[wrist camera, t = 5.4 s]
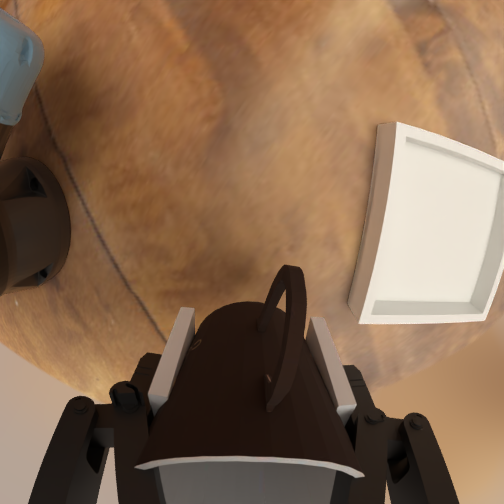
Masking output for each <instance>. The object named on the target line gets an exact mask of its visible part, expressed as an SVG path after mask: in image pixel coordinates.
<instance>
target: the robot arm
mask: <svg viewBox="0 0 504 504" xmlns="http://www.w3.org/2000/svg"><path fill="white" fill-rule="evenodd" d="M43 62H44V47H43V44H42V41H41V40H40V38H39V37H38V36H37V35H36V34H35V33H34V32H33V31H32V30H30V29H29V28H28V27H27V26H25V25H24V24H23V23H21V22H20V21H19V20H17V19H16V18H14V17H13V16H11V15H10V14H9V13H7V12H6V11H4V10H3V9H1V8H0V159H1V156H2V153H3V151H4V148H5V145H6V143H7V140H8V138H9V136H10V133H11V131H12V129H13V126H14V125H16V124H17V123H18V122H19V121H20V119H21V116H22V108H23V106H24V103H25V101H26V99H27V97H28V95H29V92H30V90H31V88H32V86H33V84H34V82H35V80H36V78H37V76H38V75H39V73H40V70H41V68H42V65H43ZM69 244H70V219H69V213H68V208H67V204H66V201H65V197H64V195H63V192H62V190H61V187H60V185H59V183H58V182H57V180H56V178H55V177H54V175H53V174H52V173H51V171H50V170H49V169H48V168H47V167H46V166H45V165H44V164H42V163H41V162H39V161H38V160H36V159H33V158H30V157H17V158H10V159H7V160H4V161H2V162H0V296H2V295H3V294H8V293H13V292H18V291H23V290H27V289H32V288H36V287H39V286H41V285H43V284H44V283H46V282H47V281H48V280H50V279H51V278H52V277H53V276H55V275H56V274H57V273H58V272H59V271H60V269H61V268H62V266H63V264H64V262H65V260H66V257H67V254H68V250H69ZM194 336H195V308H188V307H181V308H180V311H179V313H178V316H177V318H176V321H175V323H174V326H173V328H172V331H171V333H170V336H169V338H168V341H167V344H166V346H165V349H164V351H163V354H162V355H160V354H154V353H146V354H145V355H144V356H143V357H142V358H141V359H140V361H139V363H138V365H137V367H136V370H135V372H134V374H133V376H132V379H131V381H122V382H118V383H116V384H114V385H113V386H112V387H111V388H110V392H109V395H110V398H111V401H112V404H94V402H93V401H92V400H91V399H90V398H88V397H86V396H77V397H74V398H72V399H71V400H69V402H68V403H67V405H66V407H65V409H64V411H63V413H62V416H61V418H60V420H59V423H58V425H57V427H56V429H55V432H54V434H53V436H52V439H51V441H50V444H49V446H48V449H47V451H46V454H45V456H44V459H43V462H42V464H41V467H40V470H39V472H38V475H37V478H36V481H35V484H34V487H33V490H32V493H31V496H30V499H29V503H28V504H96V503H97V498H98V494H99V489H100V484H101V480H102V476H103V471H104V468H105V464H106V460H107V456H108V452H109V448H110V447H114V453H115V454H114V455H115V471H116V483H117V492H118V502H119V504H166V500H165V496H164V491H163V487H162V482H161V476H160V471H159V466H157V467H153V468H150V469H146V470H143V469H139V468H135V464H136V462H137V460H138V458H139V456H140V454H141V452H142V450H143V448H144V446H145V444H146V442H147V440H148V438H149V427H150V425H151V423H152V421H153V419H154V417H155V415H156V413H157V410H158V409H159V408H160V407H161V406H162V405H163V404H164V403H165V402H166V401H167V400H168V398H169V395H170V393H171V390H172V388H173V385H174V383H175V380H176V378H177V375H178V372H179V370H180V367H181V365H182V363H183V360H184V358H185V355H186V353H187V350H188V348H189V346H190V344H191V342H192V340H193V338H194ZM305 341H306V343H307V345H308V347H309V350H310V352H311V354H312V356H313V358H314V361H315V363H316V365H317V367H318V369H319V371H320V374H321V376H322V378H323V381H324V383H325V385H326V388H327V390H328V392H329V395H330V397H331V400H332V402H333V404H334V407H335V409H336V411H337V413H338V414H339V416H340V418H341V420H342V422H343V424H344V427H345V429H346V431H347V433H348V436H349V438H350V440H351V442H352V445H353V449H354V452H355V455H356V457H357V459H358V461H359V464H360V466H361V468H362V470H363V473H364V475H365V477H358V478H355V477H354V476H352V475H349V474H347V473H345V472H343V471H339V470H336V475H335V480H334V485H333V490H332V495H331V499H330V504H384V502H385V490H386V481H387V486H388V490H389V495H390V500H391V504H459V501H458V498H457V495H456V492H455V489H454V486H453V483H452V480H451V477H450V474H449V472H448V469H447V466H446V463H445V461H444V458H443V456H442V453H441V450H440V448H439V445H438V443H437V440H436V438H435V435H434V433H433V431H432V428H431V426H430V423H429V421H428V420H427V418H426V417H425V416H423V415H422V414H419V413H410V414H408V415H407V416H405V418H404V419H396V418H389V417H386V415H385V413H384V412H383V411H381V410H380V409H378V408H376V407H375V405H374V403H373V400H372V398H371V396H370V393H369V391H368V388H367V386H366V384H365V381H364V380H363V377H362V374H361V372H360V371H359V370H358V369H357V368H356V367H355V366H354V365H342V363H341V360H340V358H339V355H338V352H337V350H336V347H335V345H334V342H333V339H332V337H331V334H330V332H329V329H328V327H327V324H326V322H325V319H324V317H311V318H310V322H309V327H308V331H307V336H306V340H305Z"/></svg>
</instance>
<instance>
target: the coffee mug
mask: <svg viewBox="0 0 504 504" xmlns="http://www.w3.org/2000/svg"><path fill="white" fill-rule="evenodd" d="M285 289H286V313H285V312H284V311H282V310H281V309H279V308H276V306H277V304H278V302H279V300H280V298H281V296H282V294H283V292H284V291H285ZM306 309H307V296H306V287H305V281H304V274H303V271H302V269H301V268H300V267H297V266H290V265H283V266H282V268H281V269H280V270H279V272H278V273H277V275H276V277H275V279H274V281H273V283H272V286H271V288H270V291H269V293H268V296H267V298H266V301H265V304H264V303H260V302H237V303H233V304H229V305H226V306H223V307H221V308H219V309H217V310H215V311H214V312H212V313H211V314H210V315H208V316H207V317H206V318H205V320H204V321H203V322H202V323H201V325H200V327H199V329H198V331H197V332H196V334H195V336H194V338H193V340H192V342H191V344H190V346H189V348H188V350H187V353H186V355H185V358H184V360H183V363H182V365H181V367H180V370H179V372H178V375H177V378H176V380H175V383H174V385H173V388H172V390H171V393H170V395H169V398H168V400H167V401H166V402H165V403H164V404H163V405H162V406H161V407H160V408H159V409H158V410H157V413H156V415H155V417H154V419H153V421H152V423H151V425H150V427H149V438H148V440H147V442H146V444H145V446H144V448H143V450H142V452H141V454H140V456H139V458H138V460H137V462H136V464H135V468H139V469H143V470H146V469H150V468H153V467H157V466H159V471H160V476H161V482H162V487H163V491H164V496H165V500H166V504H330V499H331V495H332V490H333V485H334V480H335V475H336V470H339V471H343V472H345V473H347V474H349V475H352V476H354V477H355V478H358V477H365V475H364V473H363V470H362V468H361V466H360V464H359V461H358V459H357V457H356V455H355V452H354V449H353V445H352V442H351V440H350V438H349V436H348V433H347V431H346V429H345V427H344V424H343V422H342V420H341V418H340V416H339V414H338V413H337V411H336V409H335V407H334V404H333V402H332V400H331V397H330V395H329V392H328V390H327V388H326V385H325V383H324V381H323V378H322V376H321V374H320V371H319V369H318V367H317V365H316V363H315V361H314V358H313V356H312V354H311V352H310V350H309V347H308V345H307V343H306V341H305V339H304V330H305V321H306Z"/></svg>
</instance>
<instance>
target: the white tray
mask: <svg viewBox="0 0 504 504" xmlns="http://www.w3.org/2000/svg"><path fill="white" fill-rule="evenodd" d="M503 269H504V161H502V160H500V159H498V158H495V157H493V156H491V155H489V154H486V153H484V152H482V151H480V150H477V149H475V148H472V147H470V146H467V145H465V144H462V143H460V142H457V141H455V140H452V139H449V138H446V137H444V136H441V135H438V134H435V133H432V132H429V131H426V130H423V129H420V128H417V127H413V126H410V125H407V124H403V123H400V122H392V123H385V124H379V125H378V127H377V138H376V147H375V156H374V164H373V172H372V179H371V186H370V193H369V200H368V206H367V212H366V218H365V223H364V229H363V234H362V239H361V244H360V249H359V254H358V259H357V263H356V268H355V272H354V277H353V281H352V285H351V289H350V294H349V298H348V302H347V304H348V306H349V307H350V309H351V311H352V313H353V315H354V316H355V318H356V320H357V322H358V324H426V323H454V322H472V321H485V319H486V316H487V314H488V311H489V309H490V306H491V304H492V301H493V298H494V296H495V293H496V290H497V287H498V284H499V281H500V278H501V275H502V272H503Z"/></svg>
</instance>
